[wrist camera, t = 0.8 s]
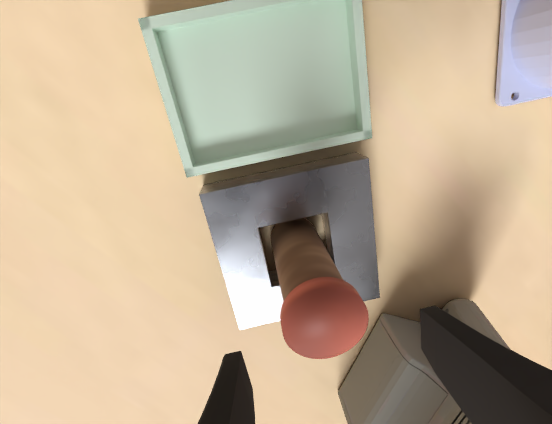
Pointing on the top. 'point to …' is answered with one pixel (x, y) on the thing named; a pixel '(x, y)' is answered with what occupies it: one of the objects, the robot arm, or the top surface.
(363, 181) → the socket plate
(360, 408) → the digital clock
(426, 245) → the top surface
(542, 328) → the top surface
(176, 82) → the tray
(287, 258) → the pin
